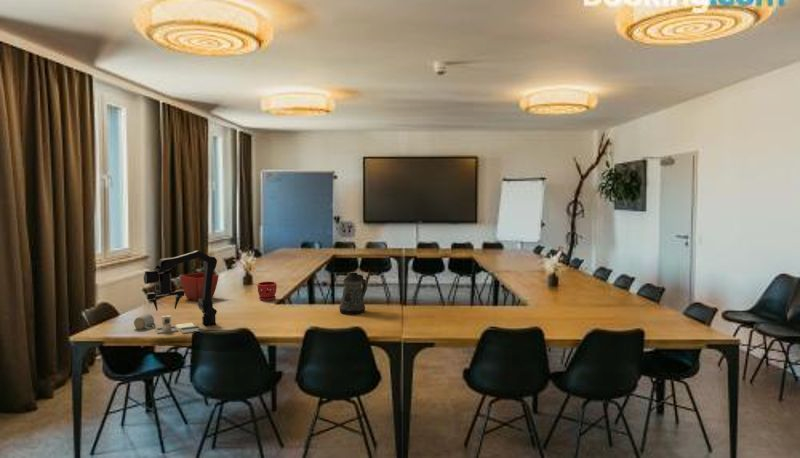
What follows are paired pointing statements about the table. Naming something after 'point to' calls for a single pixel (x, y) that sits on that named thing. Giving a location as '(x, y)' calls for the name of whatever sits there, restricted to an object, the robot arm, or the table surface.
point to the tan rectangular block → (166, 323)
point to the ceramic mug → (144, 322)
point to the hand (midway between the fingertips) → (166, 309)
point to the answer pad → (184, 325)
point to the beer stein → (353, 295)
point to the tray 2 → (189, 329)
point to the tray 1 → (160, 331)
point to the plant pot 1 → (196, 285)
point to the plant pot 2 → (267, 290)
